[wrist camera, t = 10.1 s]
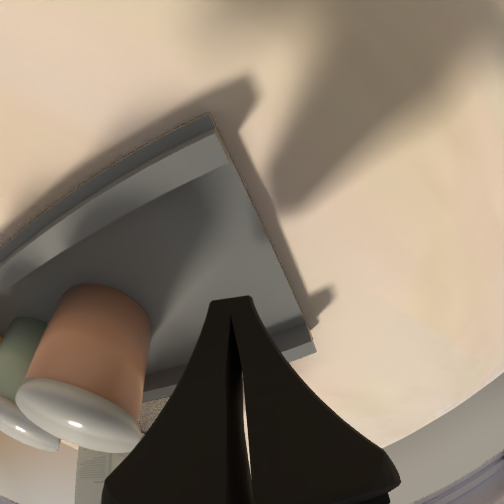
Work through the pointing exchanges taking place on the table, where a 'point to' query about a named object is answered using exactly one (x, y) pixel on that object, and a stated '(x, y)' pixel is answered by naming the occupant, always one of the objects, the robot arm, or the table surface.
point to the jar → (90, 370)
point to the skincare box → (94, 473)
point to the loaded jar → (12, 374)
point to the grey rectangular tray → (158, 250)
